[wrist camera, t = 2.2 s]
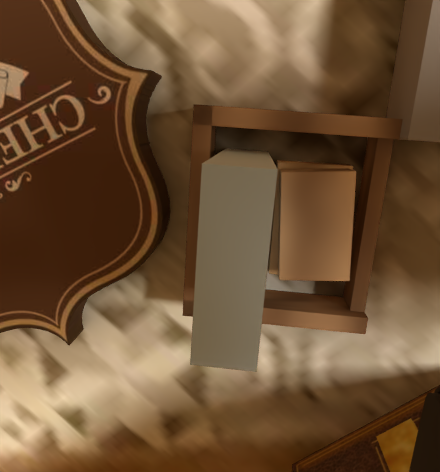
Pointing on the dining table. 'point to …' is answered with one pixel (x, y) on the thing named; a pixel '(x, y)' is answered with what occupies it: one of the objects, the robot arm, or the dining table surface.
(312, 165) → the offcut low
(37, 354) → the dining table surface
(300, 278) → the offcut top
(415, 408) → the book
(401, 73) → the holder
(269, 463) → the dining table surface
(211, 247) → the panel
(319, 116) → the square wooden tray
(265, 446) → the dining table surface
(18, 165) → the decorative plaque
